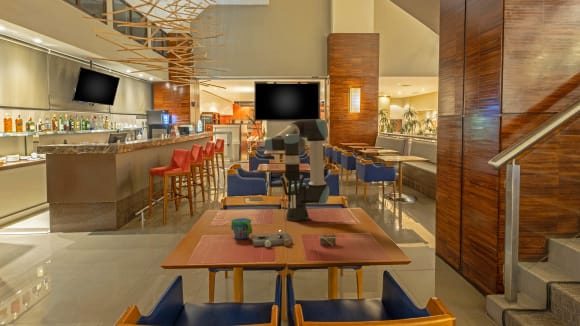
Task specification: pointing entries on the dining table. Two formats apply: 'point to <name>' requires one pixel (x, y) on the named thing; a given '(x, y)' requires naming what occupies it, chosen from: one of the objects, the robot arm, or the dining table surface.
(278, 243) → the plate
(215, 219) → the dining table surface
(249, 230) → the snack cup
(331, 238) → the platform
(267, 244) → the pale green ball
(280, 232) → the steel ball
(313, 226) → the dining table surface
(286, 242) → the cork ball
